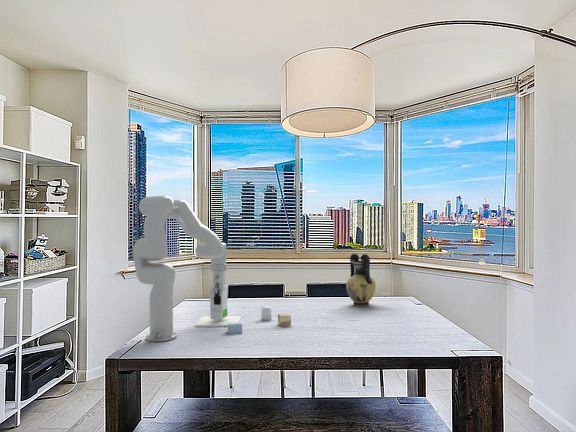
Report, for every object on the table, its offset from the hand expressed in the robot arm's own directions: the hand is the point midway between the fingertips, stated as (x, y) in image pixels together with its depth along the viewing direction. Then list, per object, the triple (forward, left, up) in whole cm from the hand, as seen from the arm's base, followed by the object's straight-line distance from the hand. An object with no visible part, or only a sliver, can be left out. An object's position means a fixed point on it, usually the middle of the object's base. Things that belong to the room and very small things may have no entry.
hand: (218, 302), depth 217 cm
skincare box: (0, 0, -8) cm, 8 cm away
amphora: (+41, -77, -10) cm, 88 cm away
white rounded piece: (+5, -23, -9) cm, 25 cm away
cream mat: (0, 0, -9) cm, 9 cm away
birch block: (-8, -32, -10) cm, 34 cm away
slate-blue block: (-21, -10, -10) cm, 25 cm away
